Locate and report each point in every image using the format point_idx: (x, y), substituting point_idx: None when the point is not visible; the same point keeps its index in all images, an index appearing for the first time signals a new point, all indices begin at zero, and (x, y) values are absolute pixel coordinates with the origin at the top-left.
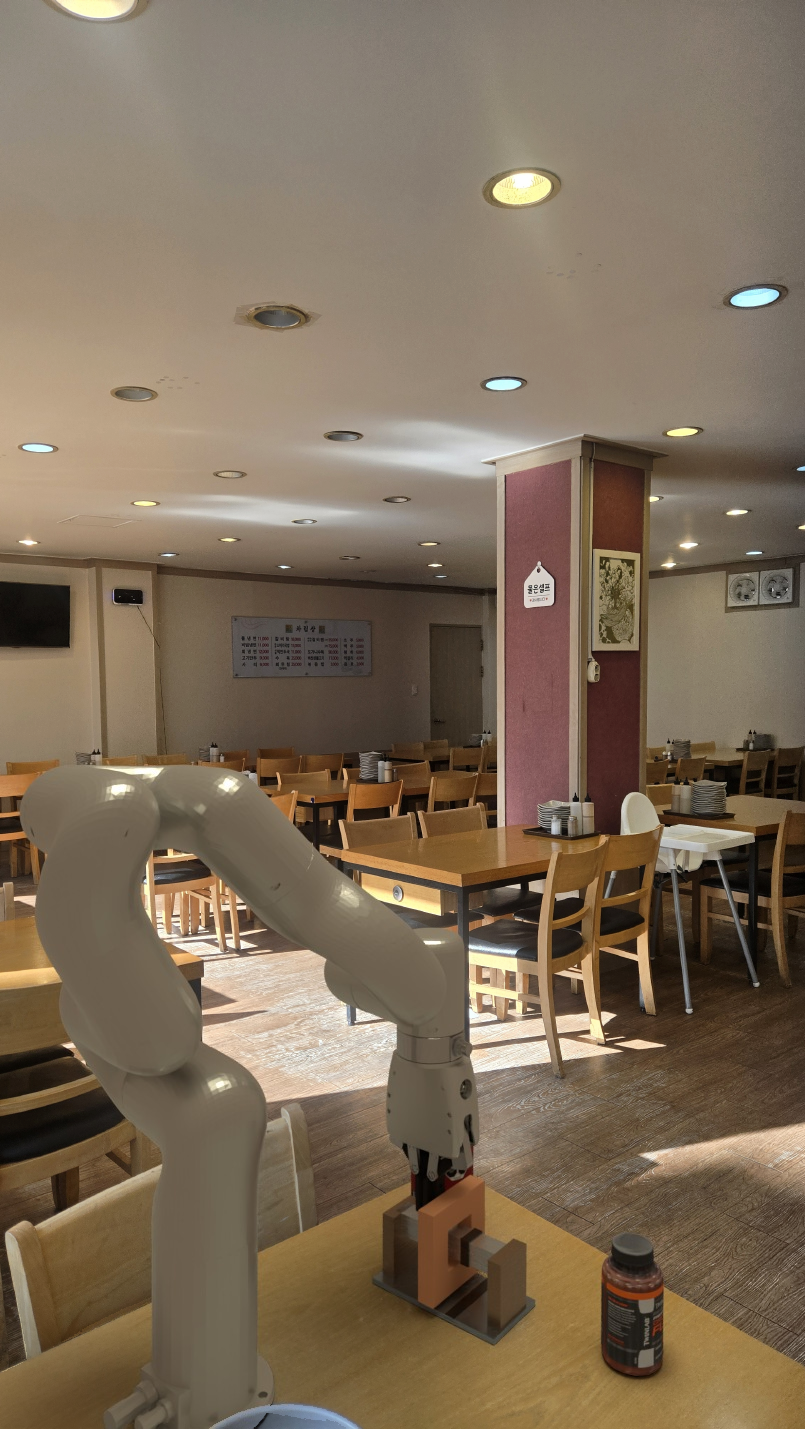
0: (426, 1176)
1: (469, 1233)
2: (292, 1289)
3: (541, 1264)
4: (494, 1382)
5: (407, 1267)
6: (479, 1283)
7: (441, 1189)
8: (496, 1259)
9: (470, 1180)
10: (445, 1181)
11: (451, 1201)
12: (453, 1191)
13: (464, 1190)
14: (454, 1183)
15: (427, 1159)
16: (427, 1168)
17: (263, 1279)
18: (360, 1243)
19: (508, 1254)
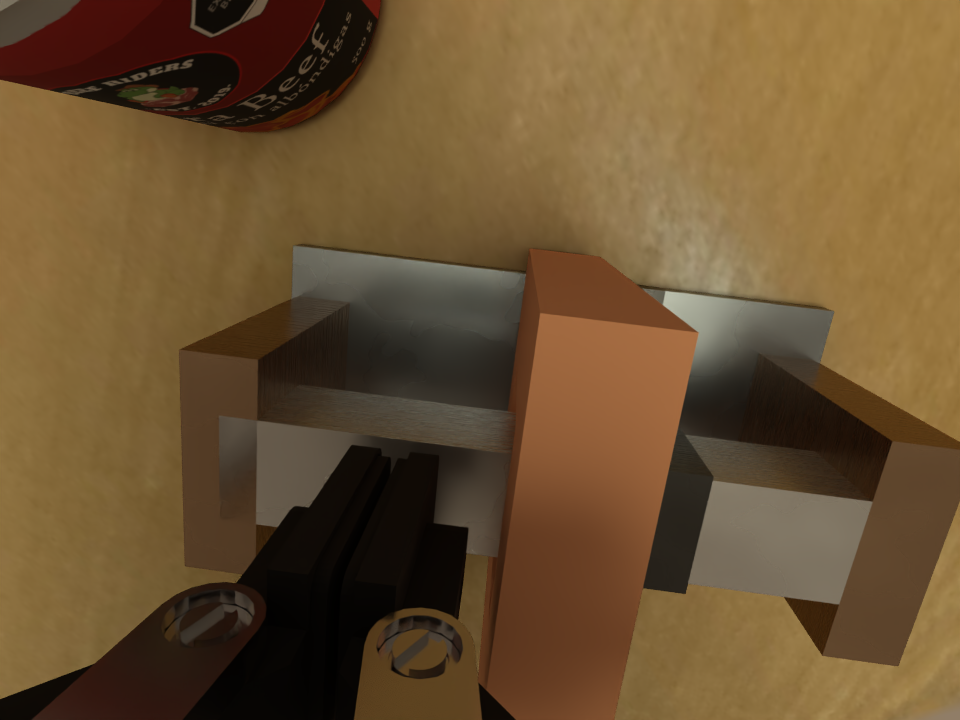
0: (326, 706)
1: (658, 527)
2: (131, 606)
3: (770, 44)
4: (811, 655)
5: (347, 383)
6: None
7: (456, 615)
8: (863, 637)
9: (586, 395)
10: (233, 50)
11: (597, 710)
12: (545, 598)
13: (613, 551)
14: (279, 3)
15: (230, 710)
16: (293, 716)
17: (36, 610)
18: (114, 315)
19: (908, 577)
